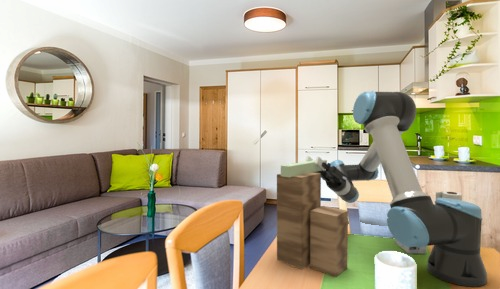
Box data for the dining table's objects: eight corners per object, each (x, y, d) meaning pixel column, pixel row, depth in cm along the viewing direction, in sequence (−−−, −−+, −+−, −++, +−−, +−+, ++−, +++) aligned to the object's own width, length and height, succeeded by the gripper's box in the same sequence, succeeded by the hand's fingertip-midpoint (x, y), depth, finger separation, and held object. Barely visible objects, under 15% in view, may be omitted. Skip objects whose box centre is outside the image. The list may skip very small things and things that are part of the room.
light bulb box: (426, 254, 105) (427, 224, 104) (408, 254, 105) (408, 224, 104) (411, 242, 115) (411, 215, 115) (393, 242, 116) (394, 215, 115)
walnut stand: (330, 280, 87) (331, 181, 85) (277, 259, 101) (276, 174, 99) (348, 266, 95) (349, 176, 94) (296, 249, 110) (296, 170, 108)
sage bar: (289, 177, 93) (289, 166, 93) (280, 176, 96) (280, 165, 95) (326, 169, 110) (326, 160, 110) (318, 168, 113) (318, 159, 113)
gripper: (355, 195, 114) (330, 171, 99) (317, 189, 126) (290, 167, 110) (359, 177, 117) (335, 151, 101) (322, 173, 128) (295, 149, 113)
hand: (311, 159), depth 106 cm, fingers closed on sage bar, 3 cm apart
